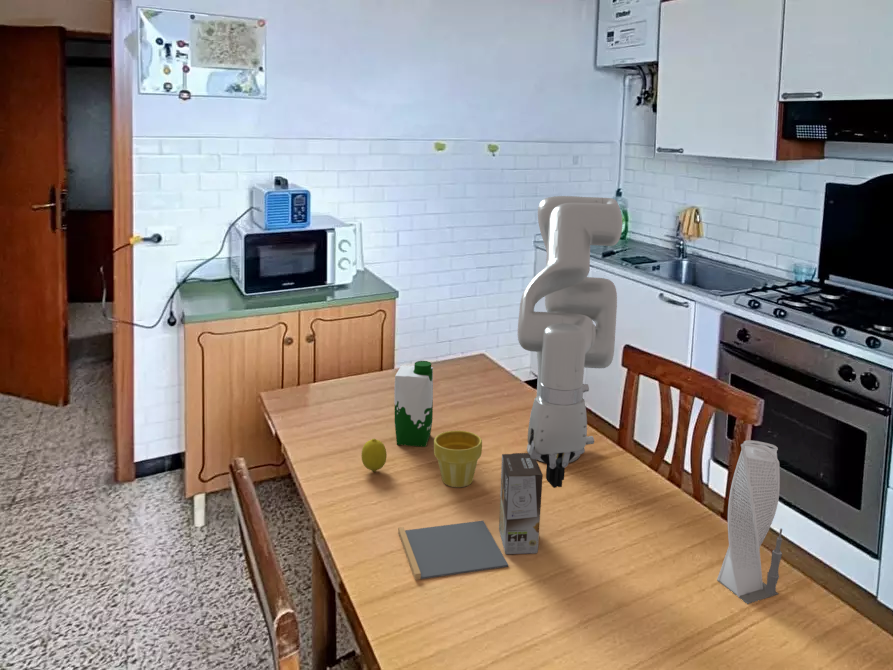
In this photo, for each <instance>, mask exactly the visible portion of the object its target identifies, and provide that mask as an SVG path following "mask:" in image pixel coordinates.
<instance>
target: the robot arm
mask: <svg viewBox="0 0 893 670" xmlns="http://www.w3.org/2000/svg"><path fill="white" fill-rule="evenodd" d="M537 222H538V227H539V231H540V234H541V238H542V241H543V243H544V248H545V252H546V259H545V260H546V261H545V266H544V268H543V269H542V270H540V271H539V272H538V273H537V274H536V275H535V276H534V277H532V278H531V279H530V281H529V283H528V284H527V286H526V287H525V288H524V291H523V293H522V295H521V298H520V302H519V313H518V321H517V340H518V344H519V345H520V347H521V348H522V349H523V350H526V351H528V352H534V353H536V359H537V384H536V385H537V386H536V396H535V398H534V401H533V403H532V407H531V410H530V417H529V423H528V428H527V429H528V431H527V446H526V451H527V452H526V453H528V455H529V456H530V457H531V458H532V459H536V460H537V461H539V462H542V463H545V464H546V467H545V468H546V471H545V479H546V481H547V483H549V484H550V485H551V487H552V488H554V489H556V488H557V487H558V488H562V487H563V481H564V480H565V472H566V471H565V470H566V468H567V467H568V466H569V463H572V462H575V461H577V460H578V459H579V458H580V456H581V455H582V454H584V453H585V451H586V450H585V447H586V446H587V445H594V443H595V438H594V436H593V435H590V436H588V418H587V407H586V402H585V398H584V397H583V396H584V393H587V392H589V391H590V386H589V384H585V383H584V377H585V376H584V375H585V374H584V373H585V368H587V369H606V368H608V367H609V366H611V365H612V363H613V360H614V355H615V342H616V328H617V327H616V326H617V308H618V295H617V294H618V293H617V287H616V286H615V284H614V282H613V281H612V280H611V279H609V278H604V277H593V276H592V277H588V275H589V273H590V271H591V270H590V266H591V265H590V263H591V246H598V247H600V246H601V247H602V246H604V247H613V246H616V245H617V244H618V243H619V241H620V239H621V237H622V231H623V216H622V210H621V208H620V204H619V202H618V201H617V200H616V199H614V198H611V197H598V196H597V197H595V196H592V197H591V196H575V195H573V196H571V195H559V196H558V195H557V196H549V197H546V198H543V199H542V200H540V202H539V204H538V207H537ZM543 298H544V306H545V310H546V311H535V307H536V305H537V303H538V302H539V301H541V300H542V299H543Z"/></svg>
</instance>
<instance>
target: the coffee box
mask: <svg viewBox="0 0 893 670" xmlns="http://www.w3.org/2000/svg"><path fill="white" fill-rule="evenodd" d="M543 476H544V474H543V472H542V470H541V468H540V465H539V464H538V460H536V459H532V458H531V457H530V456H529V455H528V452H519V453H518V452H515V453H502V455H501V472H500V495H499V497H500V500H499V502H500V503H499V521H498V522H499V523H498V531H499V535H500V539H501V542H502V546H503V550H504V554H505V555H520V554H521V555H522V554H523V555H524V554H538V551H539V541H540V540H539V539H540V538H539V537H540V526H541V525H540V522H541V521H540V520H541V510H542V509H541V507H542V493H543V492H542V491H543Z"/></svg>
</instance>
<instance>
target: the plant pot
mask: <svg viewBox="0 0 893 670" xmlns="http://www.w3.org/2000/svg"><path fill="white" fill-rule="evenodd" d="M482 451H483V440H482V437H480V436H479V435H478V434H476V433H474V432H471V431H466V430H448V431H443V432H440V433H439V434H437V435H436V436H435V437H434V439H433V454H434V457H435V458H436V459H437V462H438V467H439V472H440V475H441V480H442V482H443V484H445V485H446V486H449V487H451V488H465V487H469V486H470V485H472V483H473V480H474V476H475V473H476V468H477V464H478V460H479V459H480V458H481V457H482Z"/></svg>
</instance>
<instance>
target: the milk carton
mask: <svg viewBox="0 0 893 670" xmlns="http://www.w3.org/2000/svg"><path fill="white" fill-rule="evenodd" d="M433 399H434V367H433V366H432V362H430V361H428V360H418V361H415V362H414V364H411V365H405V364H404V365H403V364H402V365H400V367H399V369H398V370H397V372H396V374H395V376H394V430H395V437H396V439H395V440H396V445H397V446H408V447H422V448H426V447H427V445H428V442H429V439H430V437H431V432H432V425H433V410H434V409H433V408H434V407H433V405H434V404H433V402H434V400H433Z"/></svg>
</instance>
